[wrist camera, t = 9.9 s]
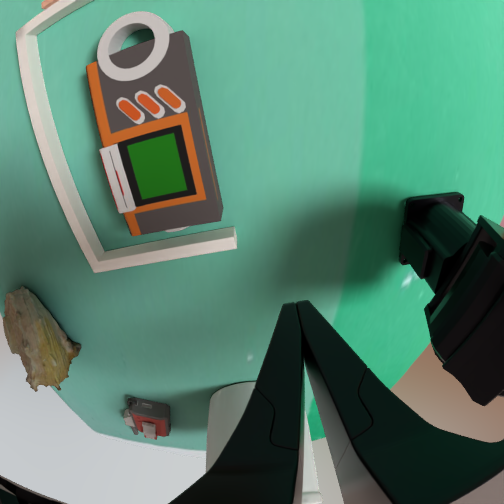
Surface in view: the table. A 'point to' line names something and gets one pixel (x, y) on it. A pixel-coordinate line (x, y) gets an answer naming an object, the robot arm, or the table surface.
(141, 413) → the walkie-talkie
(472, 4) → the table surface
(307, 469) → the utensil holder
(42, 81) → the docking bay
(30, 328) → the seashell
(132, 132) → the electronic device
